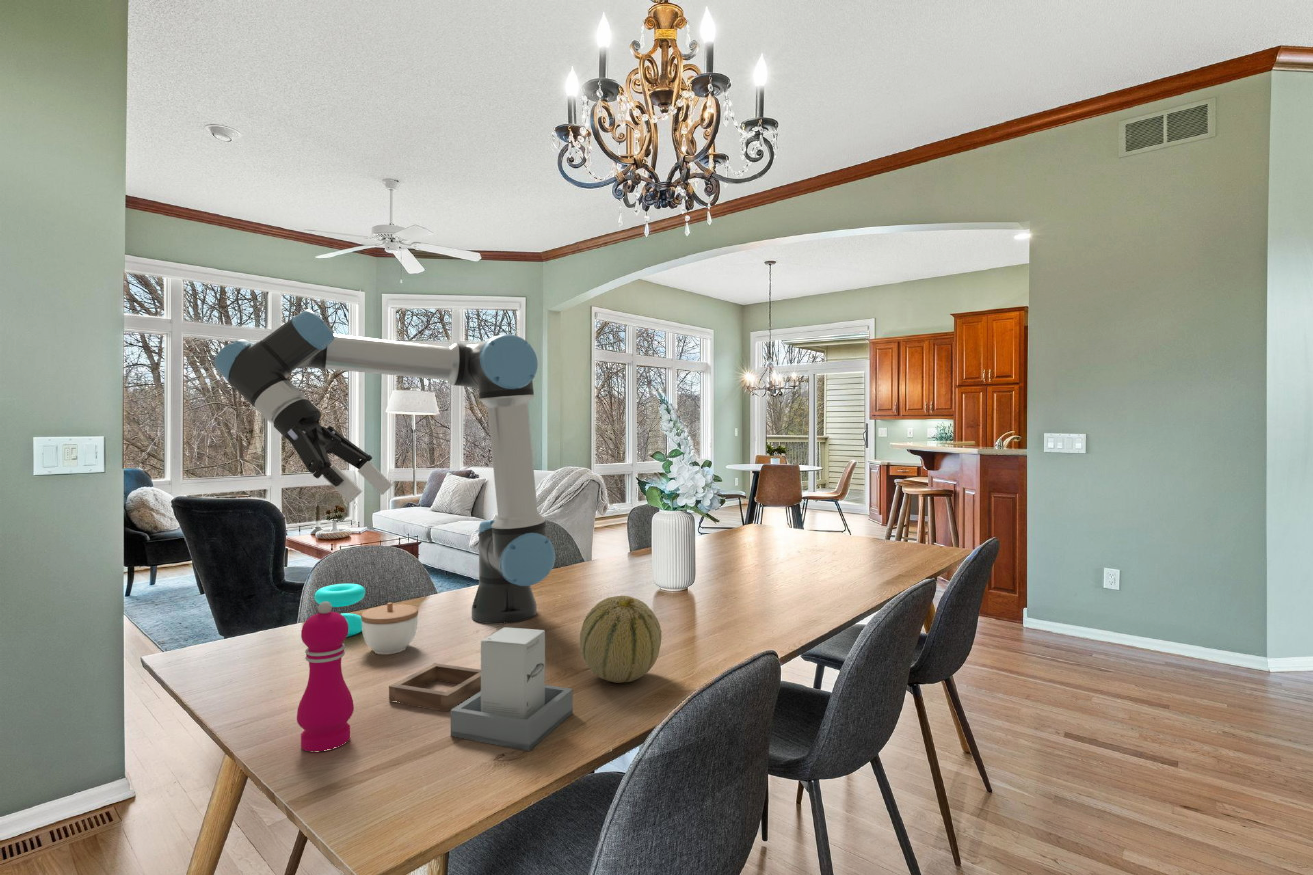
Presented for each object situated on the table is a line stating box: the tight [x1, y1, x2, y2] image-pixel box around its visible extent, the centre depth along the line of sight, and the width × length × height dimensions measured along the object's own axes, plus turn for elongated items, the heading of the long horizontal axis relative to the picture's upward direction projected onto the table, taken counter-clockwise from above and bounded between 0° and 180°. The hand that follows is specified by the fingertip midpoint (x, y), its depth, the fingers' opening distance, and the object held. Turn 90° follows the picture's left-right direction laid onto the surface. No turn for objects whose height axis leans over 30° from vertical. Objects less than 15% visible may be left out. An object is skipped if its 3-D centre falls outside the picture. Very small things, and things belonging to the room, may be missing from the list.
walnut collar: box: [388, 662, 481, 713], centre depth 111 cm, size 11×11×2 cm
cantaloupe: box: [579, 595, 662, 684], centre depth 117 cm, size 15×15×15 cm
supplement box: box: [480, 626, 546, 720], centre depth 100 cm, size 7×7×13 cm
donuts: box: [314, 583, 366, 638], centre depth 144 cm, size 10×10×10 cm
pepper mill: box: [296, 602, 355, 752], centre depth 94 cm, size 7×7×20 cm
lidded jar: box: [360, 602, 419, 655], centre depth 134 cm, size 11×11×9 cm
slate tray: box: [450, 684, 574, 752], centre depth 100 cm, size 13×13×4 cm
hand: (372, 493), depth 122 cm, fingers open, 13 cm apart
